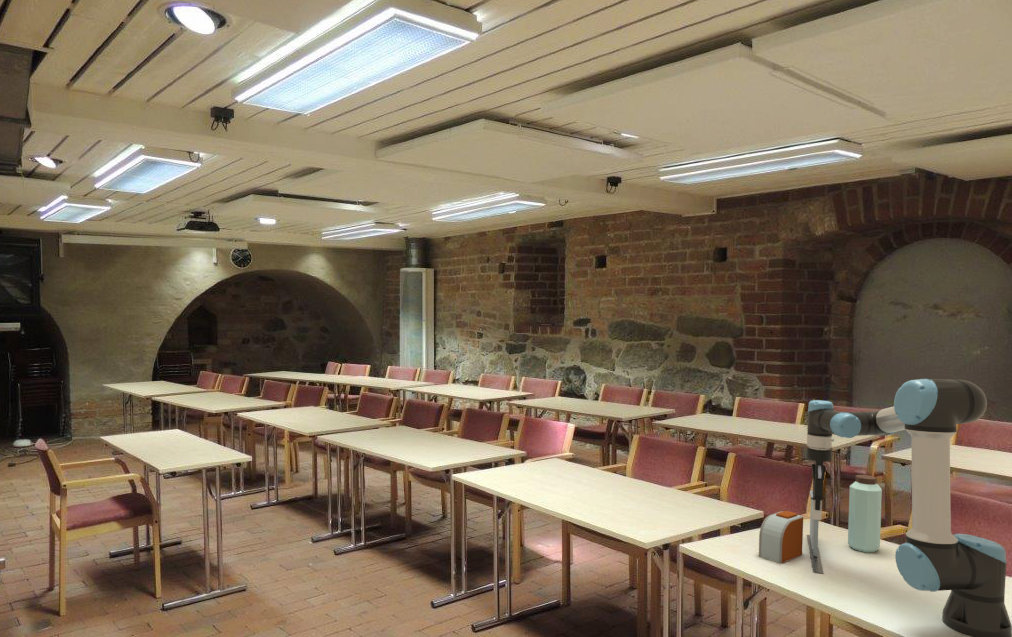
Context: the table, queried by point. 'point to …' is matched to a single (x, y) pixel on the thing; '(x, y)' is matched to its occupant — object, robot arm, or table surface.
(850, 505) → the water bottle
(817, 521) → the screen
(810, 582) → the table surface
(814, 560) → the rail
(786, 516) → the alarm clock
